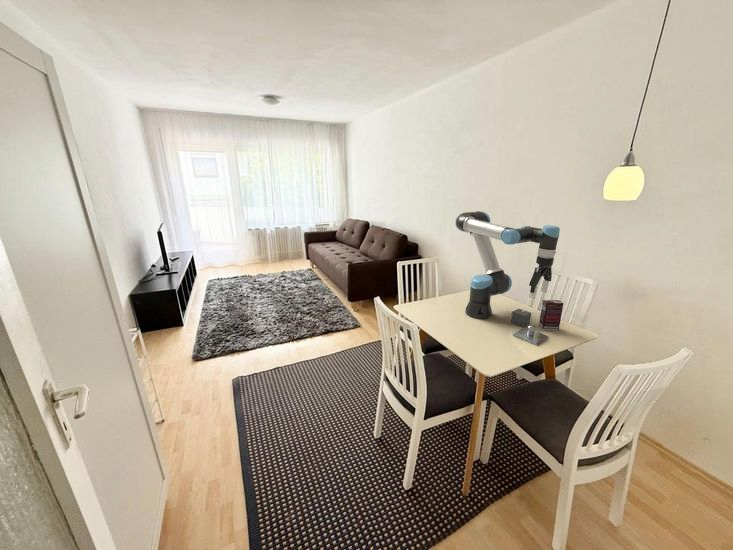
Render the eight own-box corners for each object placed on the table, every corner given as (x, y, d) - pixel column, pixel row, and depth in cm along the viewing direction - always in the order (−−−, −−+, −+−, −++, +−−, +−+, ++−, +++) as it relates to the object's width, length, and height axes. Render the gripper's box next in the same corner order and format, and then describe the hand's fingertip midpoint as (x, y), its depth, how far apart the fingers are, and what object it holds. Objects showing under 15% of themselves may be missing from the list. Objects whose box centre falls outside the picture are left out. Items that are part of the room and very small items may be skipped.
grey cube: (510, 322, 167) (512, 311, 165) (517, 319, 171) (518, 308, 169) (523, 327, 162) (524, 315, 159) (529, 323, 165) (531, 312, 163)
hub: (512, 335, 153) (513, 325, 151) (524, 329, 160) (525, 319, 158) (536, 345, 144) (538, 334, 142) (547, 338, 150) (549, 327, 148)
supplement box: (554, 326, 162) (559, 299, 157) (558, 330, 157) (564, 303, 153) (537, 326, 163) (542, 299, 158) (541, 330, 158) (546, 302, 154)
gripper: (542, 262, 140) (534, 303, 147) (564, 254, 154) (555, 291, 161) (526, 258, 146) (519, 298, 153) (548, 251, 160) (541, 287, 167)
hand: (537, 295), depth 157 cm, fingers open, 13 cm apart
